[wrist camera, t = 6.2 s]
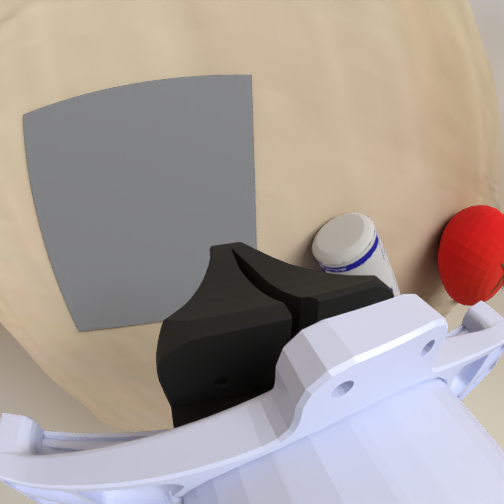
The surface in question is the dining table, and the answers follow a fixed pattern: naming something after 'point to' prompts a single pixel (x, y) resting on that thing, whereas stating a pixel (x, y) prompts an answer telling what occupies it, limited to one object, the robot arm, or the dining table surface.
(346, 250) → the beverage can
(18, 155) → the dining table surface
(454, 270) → the tomato
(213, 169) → the mat
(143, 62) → the dining table surface
